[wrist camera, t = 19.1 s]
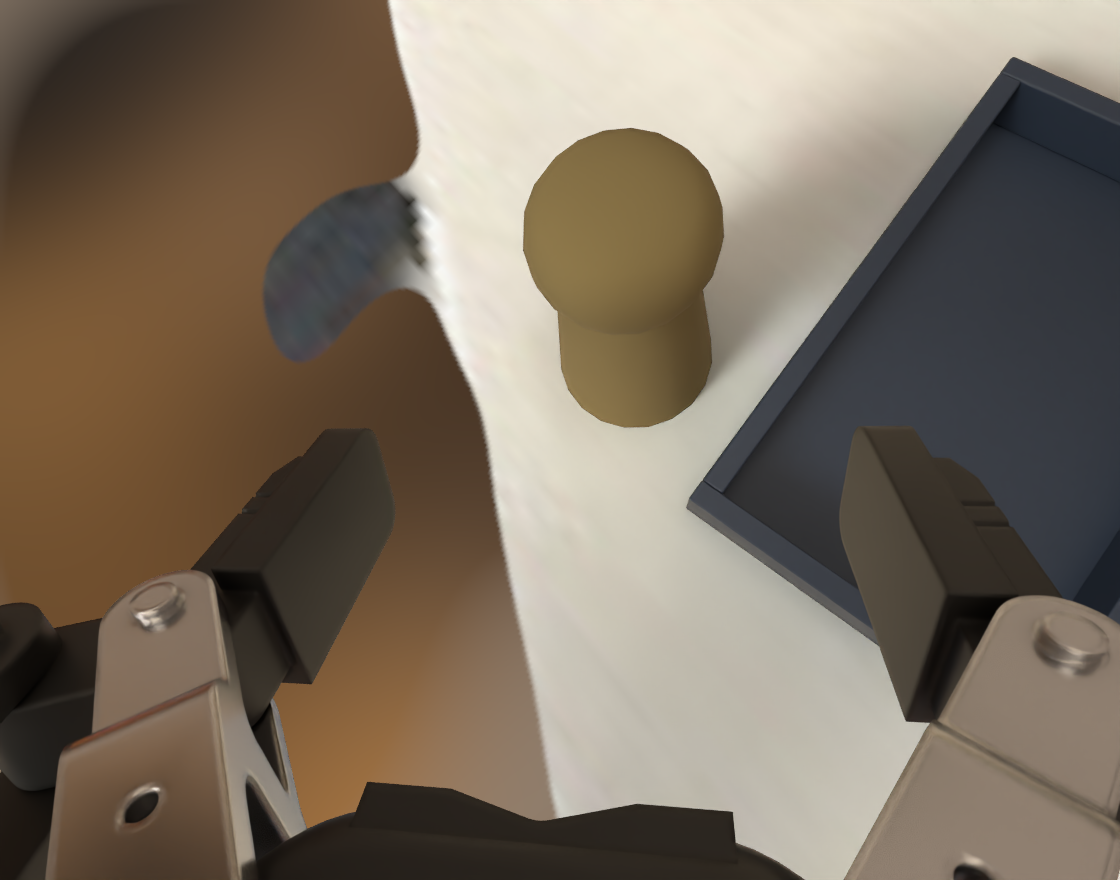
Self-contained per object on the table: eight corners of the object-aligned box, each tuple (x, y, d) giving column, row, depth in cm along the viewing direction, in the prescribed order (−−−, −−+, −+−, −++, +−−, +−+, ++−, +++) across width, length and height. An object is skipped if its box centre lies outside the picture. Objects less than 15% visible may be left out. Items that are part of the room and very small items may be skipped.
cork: (737, 318, 26) (792, 130, 15) (671, 453, 25) (679, 356, 14) (601, 263, 27) (563, 56, 16) (535, 390, 26) (448, 258, 16)
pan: (977, 108, 26) (1013, 55, 23) (1315, 265, 23) (1399, 224, 20) (685, 508, 24) (688, 498, 22) (1005, 736, 21) (1054, 758, 18)
